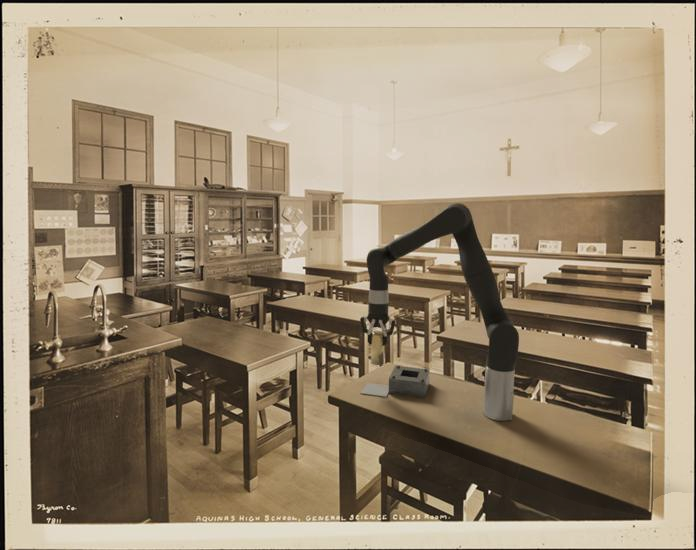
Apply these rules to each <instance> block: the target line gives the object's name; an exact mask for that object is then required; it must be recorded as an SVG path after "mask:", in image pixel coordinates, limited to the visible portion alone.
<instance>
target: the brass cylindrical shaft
mask: <svg viewBox="0 0 696 550" xmlns="http://www.w3.org/2000/svg"><path fill="white" fill-rule="evenodd" d="M383 338H384V334H383V331H382V330H372V332H371V344H370V364H371V365H374V366H383V365H384V363H385V360H384V359H385V358H384V357H385V346H383Z"/></svg>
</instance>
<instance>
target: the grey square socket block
mask: <svg viewBox="0 0 696 550" xmlns="http://www.w3.org/2000/svg"><path fill="white" fill-rule="evenodd" d="M430 371H431V370H430V369H428V368H419V367H412V366H403V365H395V366H394V367H393V370H392V372H391V373H390V375H389V377H388V386H389V393H388V394H394V395H401V396H407V397H414V398H421V399H422V398H423V399H426V396H427V394H428V389H429V385H430Z"/></svg>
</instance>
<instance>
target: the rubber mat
mask: <svg viewBox="0 0 696 550" xmlns="http://www.w3.org/2000/svg"><path fill="white" fill-rule="evenodd" d="M388 394H390V393H389V384H387V385H386V384H380V383H379V384H378V383H371V382H366V384H365V385H364V387H363V388H362V390H361V392H360V395H367V396H372V397H373V396H374V397H382V398H387V397H388Z"/></svg>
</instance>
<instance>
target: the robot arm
mask: <svg viewBox="0 0 696 550" xmlns="http://www.w3.org/2000/svg"><path fill="white" fill-rule="evenodd" d="M449 235H452V237H453V238H454V240H455V242H456V245H457V248H458V253H459V261H460V268H461V272H462V275H463V279H464V280H465V283H466V285H467V288H468V290H469V292H470V294H471V297H472V298H473V299H474V300H473V301H475V303H476V304H477V306H478V309H479V310H480V314H481V316H482V317H481V318H482V319H483V322H484V327H485V331H486V334H487V338H488V339H489V340H488V349H487V350H488V354H487V356H486V361H485V375H484V387H483V388H484V391H483V392H484V393H483V406H482V414H483V415H484V416H485V417H486V418H488V419H491V420H493V421H498V422H502V421H503V422H504V421H513V411H514V398H515V397H514V396H515V393H514V387H515V374H516V371H515V370H516V364H517V361H518V356H519V355H518V354H519V348H520V347H519V346H520V345H519V344H520V334H519V332H518V330H517V328H516V327H515V325H514V324H513V323H512V322H511V320H510V319H509V316H508V315H507V313H506V311H505V309H504V307H503V304H502V301H501V298H500V292H499V288H498V283H497V279H496V275H495V274H494V272H493V269H492V266H491V264H490V262H489V260H488V257H487V256H486V253H485V250H484V249H483V246H482V244H481V242H480V239H479V237H478V234H477V230H476V228H475V224H474V218H473V216H472V212H471V211H470V208H468V206H467V205H465V204H463V203H460V202H456V203H452V204H449V205H448V206H446V207H445V208H443V209H442V210H441V211H440V212H439V213H438V214H436V215H434V217H433V218H431V219H429V220H428V221H427V222H425V223H423V224H422V225H420V226H418V227H415V228H413V229H411V230H409V231H407V232H405V233H403V234H401V235H399V236H397V237H395V238H394V239H392V240H390V242H389V243H388V244H386V245H385V246H382V247H379V248H373V249H370V250H369V252H368V253H367V255H366V267H367V272H368V275H369V292H368V308H367V309H368V310H367V311H368V312H367V313H368V314H367V316H361V317H360V319H359V321H360V326H361V330H362V333H363V334H366V335H367V343H368V344H369V345H371V332H373V331H374V329H375V328H379V329H381V331H382V332H383V334H384V338H383V346H384V347H386V346H387V344H388V342H389V336H392V335H393V333H394V331H395V328H396V327H395V326H396V323H397V319H395V318H390V316H389V304H390V303H389V301H390V300H389V299H390V298H389V276H388V274H386V273H385V267H387V266H389V265H390V264H393V263H394V262H396V261H397V260H399V259H400V258H402V257H405V256H407V255H409V254H410V253H413V252H415V251H416V250H418V249H419V248H422V247H423V246H425V245H427V244H428V243H430V242H432V241H434V240H438V239H439V238H442V237H445V236H449ZM367 321H368V322H369V324H370V325H369V328H368V326H367ZM388 322H389V325H390V327H389V331H388V326H387V324H388Z"/></svg>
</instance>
